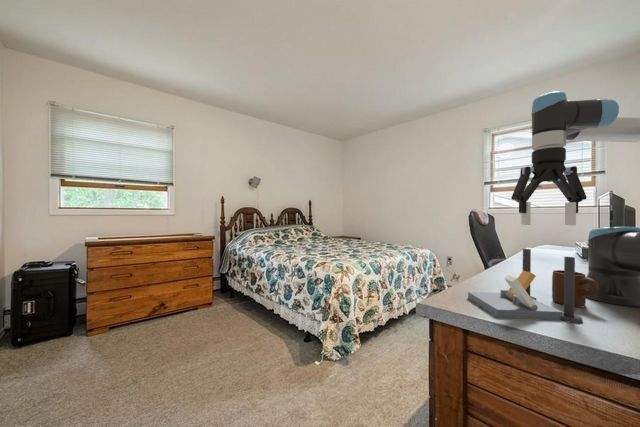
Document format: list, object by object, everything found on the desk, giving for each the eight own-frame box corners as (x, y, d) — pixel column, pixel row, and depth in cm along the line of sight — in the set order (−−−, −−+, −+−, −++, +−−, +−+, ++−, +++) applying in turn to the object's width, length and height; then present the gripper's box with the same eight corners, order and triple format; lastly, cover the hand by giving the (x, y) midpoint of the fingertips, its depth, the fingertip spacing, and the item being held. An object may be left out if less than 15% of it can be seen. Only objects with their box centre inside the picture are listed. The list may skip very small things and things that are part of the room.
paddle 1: (508, 298, 81) (527, 273, 80) (516, 302, 77) (536, 276, 77) (503, 295, 81) (523, 270, 80) (511, 299, 77) (531, 272, 77)
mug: (610, 313, 75) (610, 279, 75) (584, 313, 74) (584, 279, 74) (567, 299, 87) (568, 270, 87) (545, 299, 86) (545, 270, 86)
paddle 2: (529, 304, 73) (508, 275, 73) (539, 308, 69) (517, 278, 70) (524, 307, 73) (503, 278, 74) (533, 312, 70) (512, 281, 70)
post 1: (529, 297, 88) (529, 248, 88) (540, 302, 83) (540, 250, 83) (512, 296, 88) (513, 248, 88) (523, 301, 83) (523, 250, 83)
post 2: (571, 315, 72) (571, 256, 72) (588, 323, 67) (588, 259, 67) (551, 315, 72) (551, 255, 72) (566, 322, 67) (567, 258, 67)
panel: (520, 299, 85) (520, 287, 85) (562, 319, 69) (562, 304, 69) (468, 298, 86) (468, 285, 86) (497, 317, 70) (497, 301, 70)
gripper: (580, 151, 81) (580, 224, 80) (497, 152, 82) (497, 224, 82) (605, 145, 73) (605, 225, 73) (513, 146, 75) (513, 225, 75)
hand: (548, 225), depth 78 cm, fingers open, 11 cm apart
